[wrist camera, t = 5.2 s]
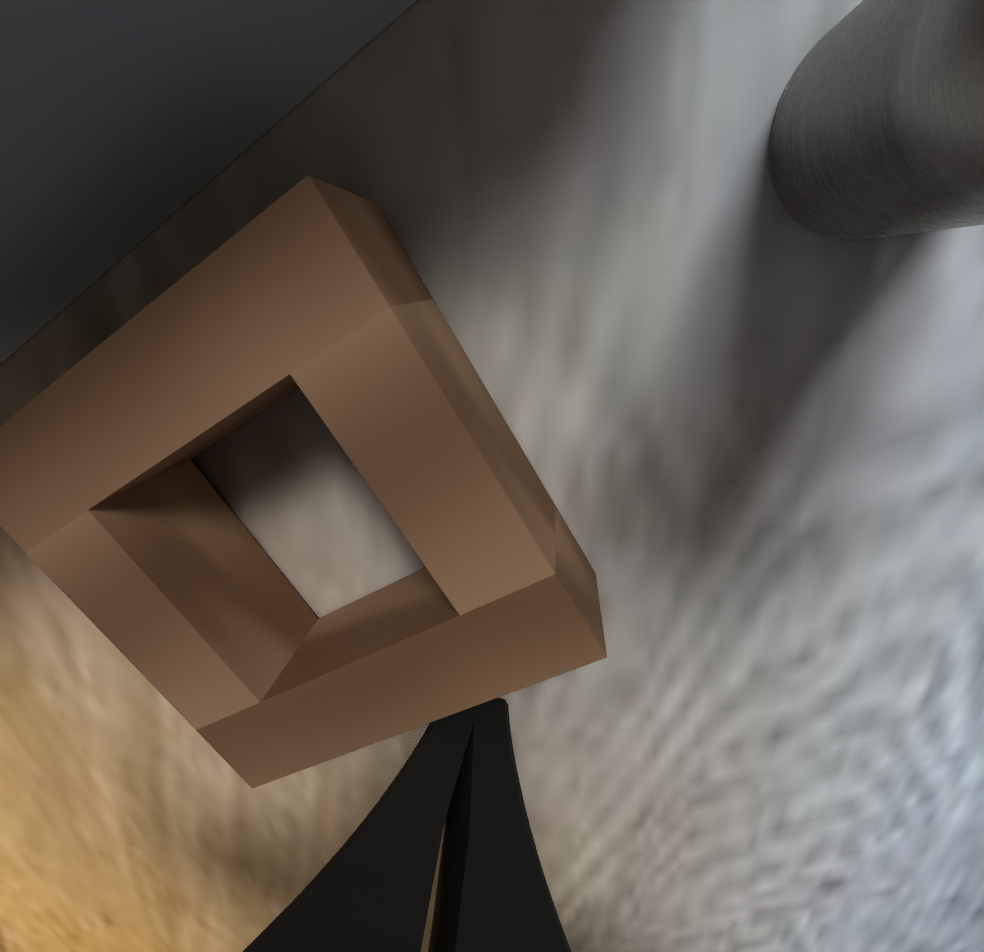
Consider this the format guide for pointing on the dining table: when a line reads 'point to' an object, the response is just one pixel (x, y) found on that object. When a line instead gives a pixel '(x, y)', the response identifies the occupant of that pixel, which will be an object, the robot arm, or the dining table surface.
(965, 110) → the dowel
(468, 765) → the robot arm
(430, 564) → the socket block
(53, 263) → the slate wall
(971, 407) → the dining table surface
